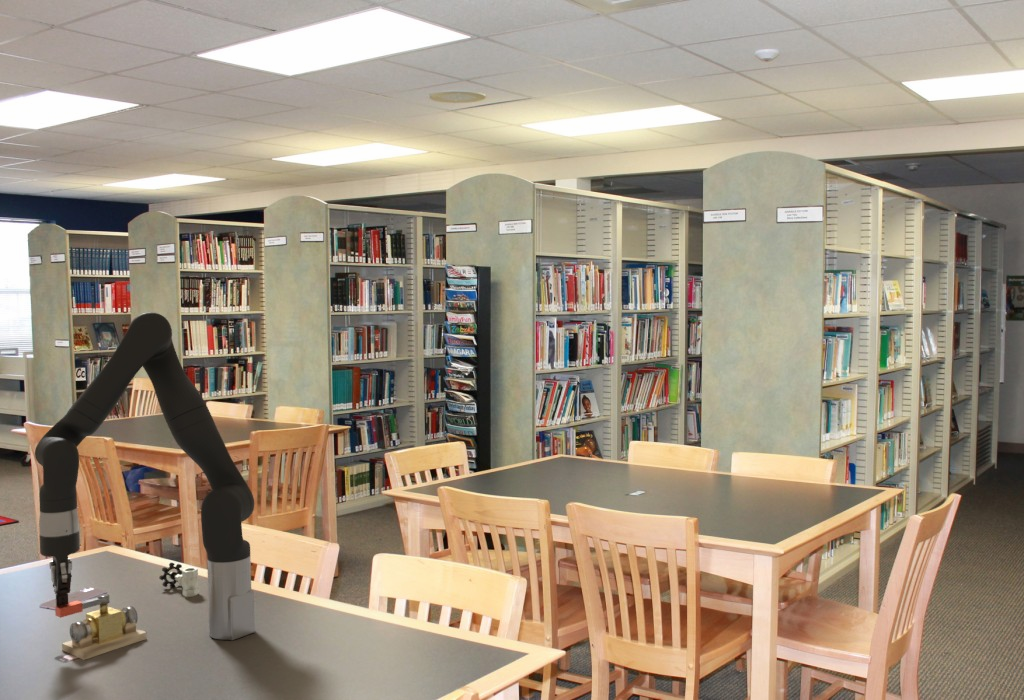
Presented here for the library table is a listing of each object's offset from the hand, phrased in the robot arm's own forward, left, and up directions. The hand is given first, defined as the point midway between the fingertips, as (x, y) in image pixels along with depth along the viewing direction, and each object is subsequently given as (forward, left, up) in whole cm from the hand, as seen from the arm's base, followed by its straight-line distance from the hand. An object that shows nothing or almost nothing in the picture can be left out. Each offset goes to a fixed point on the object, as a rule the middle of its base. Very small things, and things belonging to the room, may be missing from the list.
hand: (62, 610), depth 186 cm
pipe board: (-3, -7, -9) cm, 12 cm away
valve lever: (-3, -3, 0) cm, 4 cm away
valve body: (-3, -7, -7) cm, 11 cm away
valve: (+15, -38, -9) cm, 42 cm away
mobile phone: (+33, -19, -10) cm, 39 cm away
